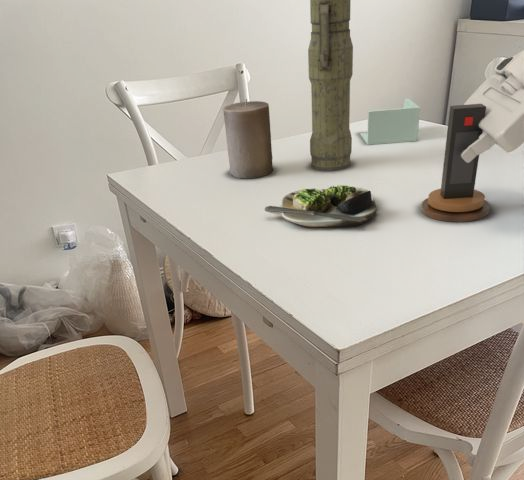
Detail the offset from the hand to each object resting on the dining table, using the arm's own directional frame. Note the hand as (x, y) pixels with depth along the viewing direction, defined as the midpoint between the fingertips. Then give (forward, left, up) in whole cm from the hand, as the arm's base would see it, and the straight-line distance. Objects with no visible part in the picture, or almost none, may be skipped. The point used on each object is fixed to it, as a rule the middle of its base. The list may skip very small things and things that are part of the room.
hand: (457, 153), depth 87 cm
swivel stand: (-1, 0, -9) cm, 9 cm away
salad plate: (+20, +2, -10) cm, 23 cm away
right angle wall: (+13, -51, -10) cm, 54 cm away
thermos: (+24, -27, -10) cm, 38 cm away
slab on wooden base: (-1, 0, -8) cm, 8 cm away
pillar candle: (+41, -22, -10) cm, 48 cm away
